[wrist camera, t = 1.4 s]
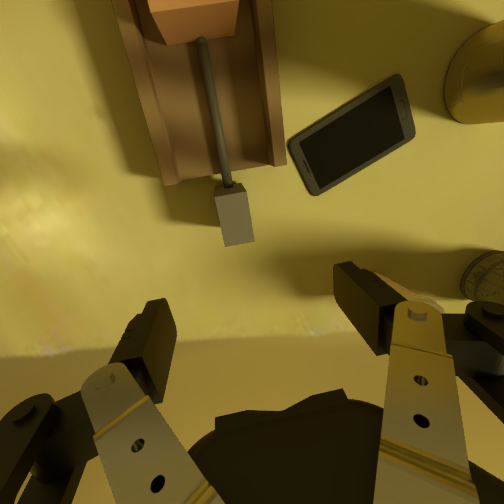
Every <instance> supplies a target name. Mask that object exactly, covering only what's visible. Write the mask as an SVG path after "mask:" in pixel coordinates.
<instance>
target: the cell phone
mask: <svg viewBox="0 0 504 504" xmlns="http://www.w3.org/2000/svg"><path fill="white" fill-rule="evenodd" d="M415 134H416V132H415V125H414V121H413V117H412V113H411V110H410V106H409V102H408V98H407V94H406V90H405V86H404V82H403V79H402V77H401V75H400V74H396V75H393V76H391V77H389V78H388V79H386V80H384V81H383V82H381V83H380V84H378V85H376V86H375V87H373V88H372V89H370V90H368V91H367V92H365V93H364V94H362V95H361V96H359V97H357V98H356V99H354V100H353V101H351V102H349V103H348V104H346V105H345V106H343V107H341V108H340V109H338V110H337V111H335V112H333V113H332V114H330V115H329V116H327V117H326V118H324V119H322V120H321V121H319V122H318V123H316V124H314V125H313V126H311V127H310V128H308V129H306V130H305V131H303V132H302V133H300V134H299V135H297V136H296V137H294V138H293V139H292V140H291V141H290V142H289V144H288V147H289V151H290V153H291V155H292V157H293V159H294V162H295V164H296V166H297V168H298V170H299V172H300V174H301V176H302V178H303V181H304V183H305V185H306V187H307V189H308V191H309V193H310V194H311V195H312V196H318V195H320V194H322V193H324V192H325V191H327V190H329V189H331V188H332V187H334V186H336V185H337V184H339V183H341V182H342V181H344V180H346V179H347V178H349V177H351V176H352V175H354V174H356V173H357V172H359V171H361V170H362V169H364V168H366V167H367V166H369V165H371V164H372V163H374V162H376V161H377V160H379V159H381V158H382V157H384V156H386V155H387V154H389V153H391V152H392V151H394V150H396V149H397V148H399V147H401V146H402V145H404V144H406V143H407V142H409V141H410V140H412V139H413V138H414V137H415Z"/></svg>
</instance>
